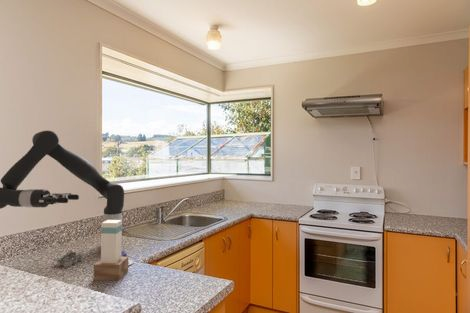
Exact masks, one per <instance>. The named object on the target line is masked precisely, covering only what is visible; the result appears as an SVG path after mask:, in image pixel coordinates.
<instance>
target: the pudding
mask: <svg viewBox="0 0 470 313" xmlns="http://www.w3.org/2000/svg"><path fill="white" fill-rule="evenodd" d="M121 257H128V256H127V252H125V251H122V255H121ZM133 263H134V260H133V259H130V258H128V266H130V265H133Z"/></svg>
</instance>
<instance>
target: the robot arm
mask: <svg viewBox="0 0 470 313" xmlns="http://www.w3.org/2000/svg"><path fill="white" fill-rule="evenodd" d="M31 142H32V144H33V145H32V146H31V147H30V149H29V150H28V151H26V153H25V154H24V155H22V157H21V158H20V159H18V161H17V162H15V163H14V164H13V165H12V166H11V167H10V168H9V169H8V171H6V173H5V174H3V176H2V178H1V179H0V183H1V185H2V187H0V209H3V208H6V207H7V206H10V207H15V208H19V207H21V208H22V207H24V208H47V207H48V206H49V205H57V204H68V203H69V201H76V200H79V198H80V195H79V194H74V193H73V194H72V193H71V192H70V193H67V192H65V193H64V192H63V193H56V192H55V193H51V192H50V191H49V190H48V189H41V188H40V189H37V188H36V189H34V188H33V189H18V187H19V186H20V185H21V184H22V182H24V180H25V179H26V178H27V177H28V176H29V175H30V173H31V172H32V170H34V168H36V167H37V165H38V164H39V162H41V161H42V160H43V159H44V157H46V156H48V157H50V158H52V159H54V160H55V161H56V162H57V163H59V164H60V165H61V166H62V167H64V168H65V170H68V171H69V173H71V174H72V175H74V177H76V178H78V179H79V180H80V181H82V182H84V183H85V184H86V185H89V186H91V187H92V188H93V189H94V190H96V191H97V192H98V193H99V194H100V195H101V196H102V197H103V198H105V200H106V206H105V207H104V208H103V222H104V221H106V220H122V221H123V209H124V203H125V190H124V188H123V186H122V185H121V184H118V183H114V182H111V181H110V180H108V179H106V178H105V177H103V176H102V175H101V174H100V172H99V171H98V170H97V169H96V167H95V166H94V165H93V164H92V163H90V162H89V161H88V160H87V159H86V158H84V157H82V156H81V155H80V154H77V153H75V152H73V151H71V150H69V149H67V148H65V147H64V146H63V145H61V143H59V142H60V138H59V136H58V134H57V133H56V132H54V131H52V130H42V131H39V132H37V133H35V134H34V135H33V136H32V141H31Z"/></svg>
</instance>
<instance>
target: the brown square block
mask: <svg viewBox="0 0 470 313" xmlns="http://www.w3.org/2000/svg"><path fill="white" fill-rule="evenodd" d="M128 259H129V256H127V257H121V259H120V260H119V261H118V262H117V263H101V259H99V260H98V261H97V262H95V263H93V281H94V280H96V281H97V280H98V281H120V280H121V279H122V278H123V277H124V276H125V275H126V274H127V273H128V272H129V265H128Z"/></svg>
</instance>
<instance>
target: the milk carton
mask: <svg viewBox="0 0 470 313" xmlns="http://www.w3.org/2000/svg"><path fill="white" fill-rule="evenodd" d="M100 229H101V230H100V236H101V238H100V239H101V240H100V260H101V263H117V262H118V261H119V260H120V259H121V255H122V252H123V250H122V245H123V244H122V241H123V236H122V235H123V234H122V233H123V219H122V220H106V221H104V220H103V222H101V228H100Z"/></svg>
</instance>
